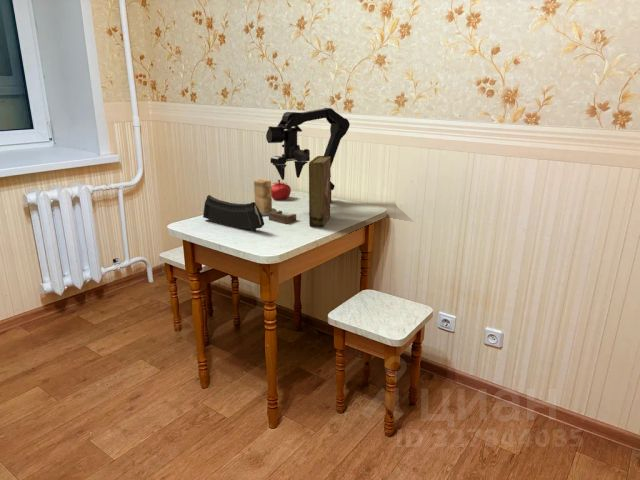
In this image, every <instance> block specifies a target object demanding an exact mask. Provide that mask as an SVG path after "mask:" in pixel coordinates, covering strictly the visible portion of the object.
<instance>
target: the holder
mask: <svg viewBox="0 0 640 480" xmlns="http://www.w3.org/2000/svg"><path fill="white" fill-rule="evenodd" d="M268 220H269V221H270V222H271V221H272V222H276V223H281V224H283V225H287V224H289V223H291V222H294V221H297V214H296V213H292V214H289V215H285V214H283V210H278V211H277V212H274V213H272V212H270V213H269V216H268Z"/></svg>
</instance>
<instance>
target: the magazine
mask: <svg viewBox="0 0 640 480" xmlns="http://www.w3.org/2000/svg"><path fill="white" fill-rule="evenodd" d="M202 218H203V219H204V218H205V219H206V220H209V221H211V222H214V223H216V224H220V225H223V226H226V227H231V228H235V229H242V230H244V229H245V230H252V231H253V232H256V231H257V229H262V228H263V227H264V226H265V221H264V216H262V214H261V213H260V211H259V209H258V207H257V206H256V204H255V201H252V202H251V201H250V202H248V203H235V202H229V201H224V200H221V199H218V198H215V197H213V196H212V195H206V199H205V201H204V207H203V215H202Z"/></svg>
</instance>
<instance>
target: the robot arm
mask: <svg viewBox="0 0 640 480" xmlns="http://www.w3.org/2000/svg"><path fill="white" fill-rule="evenodd" d="M321 119H325V120H326V121H327V122H328V124H330V128H329V130H330V136H329V140H328V142H327V145H326V148H325V151H324V154H323V156H330V157H331V167H332V165H333V163H334V159H335V157H336V155H337V152H338V148H339V145H340V142H341V140H342V138H343V137H345V135H346V134H347V132H348V131H349V128H350V122H349V119H347V118H346V117H344V116H342V115H341V114H339V113H338V112H337V111H336V110H334V109H333V108H331V107H324V108H319V109H313V110H307V111H303V112H301V111H299V112H297V111H286V112H283V115H282V118H281V120H280V121H279V122H278V125H277V126H268V129H267V131H266V134H265V137H266V139H265V140H266V141H267V143H268V144H281V143H283V144H282V145H281V148H283V153H282V154H281V156H280V155H275V156H274V155H273V156H271V157H270V164H272V165H273V166H274V167H275V169H276V170H277V172H278V175H279V177H280V178H281V179H280V180H282V181H284V180H285V174H286V173H285V172H286V171H285V170H286V167H287V164H286V163H287V162H292V161H293V163H294V170H295V174H296V178H298V179H299V178H300V176H301V174H302V170H303V168H304V166H305V165H306V164H309V162H310V161H311V158H310V157H311V156H310V155H311V152H310V149H308V148H305V149H301V147H300V145H299V144H298V132H299V133H301V132H302V131H303V129H301V127H299V126H300V125H302V124H303V123H305V122H310V121H316V120H321ZM331 177H332V176H331ZM331 177H330V179H331ZM334 189H335V184H334V183H333V182H332V181H331V180H330V204H332V202H333V201H332V200H333V199H332V191H334Z"/></svg>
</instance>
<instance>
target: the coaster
mask: <svg viewBox="0 0 640 480" xmlns="http://www.w3.org/2000/svg"><path fill="white" fill-rule="evenodd" d="M270 212H272V213H274V212H277V209H276V208H273V207H272V211H269V212H266V213H261V212H260V213H261V214H262V217H269V213H270Z"/></svg>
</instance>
